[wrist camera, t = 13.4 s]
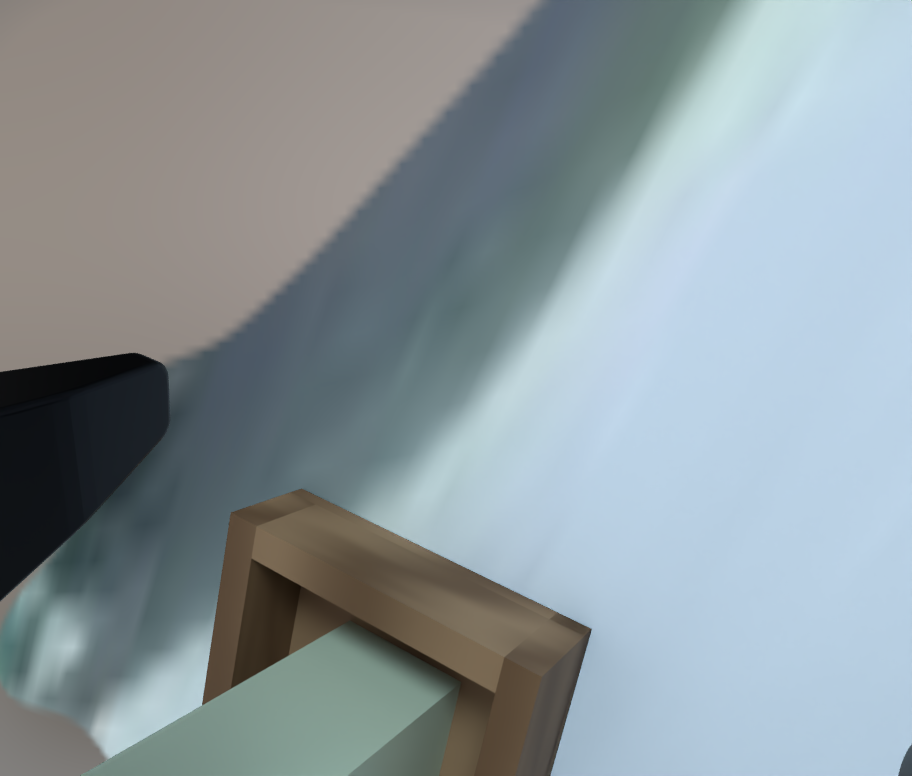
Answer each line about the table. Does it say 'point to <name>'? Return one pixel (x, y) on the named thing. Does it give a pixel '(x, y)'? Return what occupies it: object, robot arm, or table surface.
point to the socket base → (398, 625)
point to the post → (311, 718)
